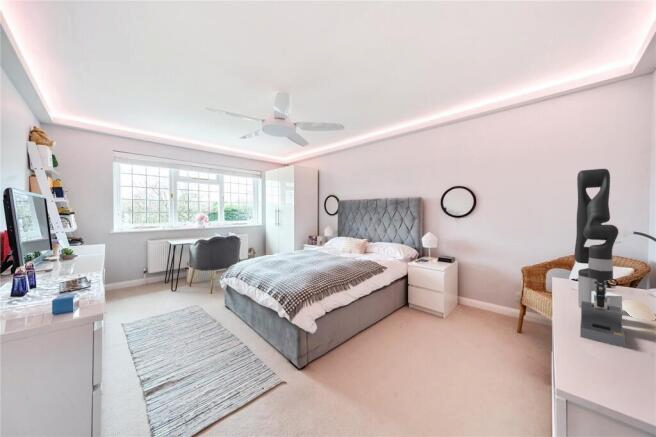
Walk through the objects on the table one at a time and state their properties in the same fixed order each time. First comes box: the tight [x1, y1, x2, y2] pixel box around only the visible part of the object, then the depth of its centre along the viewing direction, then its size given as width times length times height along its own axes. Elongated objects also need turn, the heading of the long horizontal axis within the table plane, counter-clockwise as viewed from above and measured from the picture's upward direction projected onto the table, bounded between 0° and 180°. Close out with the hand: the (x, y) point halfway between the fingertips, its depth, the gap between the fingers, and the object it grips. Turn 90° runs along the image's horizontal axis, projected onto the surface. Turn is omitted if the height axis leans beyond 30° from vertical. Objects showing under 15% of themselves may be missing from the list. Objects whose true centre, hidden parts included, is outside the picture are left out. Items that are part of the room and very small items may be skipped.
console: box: [579, 301, 626, 348], centre depth 107 cm, size 24×12×9 cm, turn 133°
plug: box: [594, 295, 610, 309], centre depth 111 cm, size 3×5×8 cm, turn 43°
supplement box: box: [591, 291, 623, 314], centre depth 119 cm, size 7×7×13 cm
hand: (600, 305), depth 112 cm, fingers closed on plug, 3 cm apart
